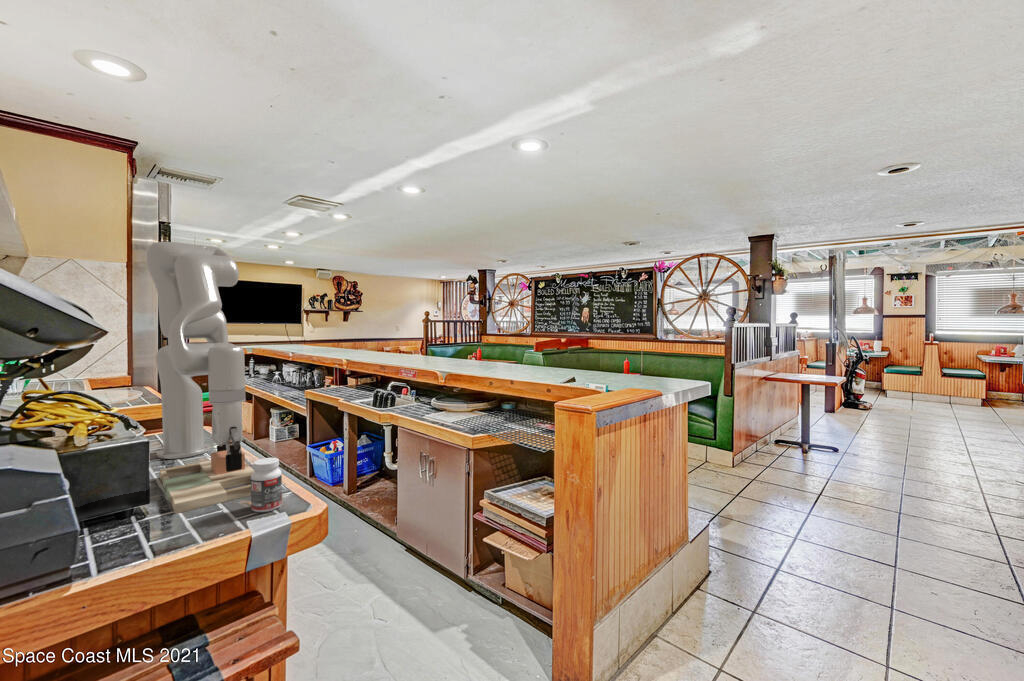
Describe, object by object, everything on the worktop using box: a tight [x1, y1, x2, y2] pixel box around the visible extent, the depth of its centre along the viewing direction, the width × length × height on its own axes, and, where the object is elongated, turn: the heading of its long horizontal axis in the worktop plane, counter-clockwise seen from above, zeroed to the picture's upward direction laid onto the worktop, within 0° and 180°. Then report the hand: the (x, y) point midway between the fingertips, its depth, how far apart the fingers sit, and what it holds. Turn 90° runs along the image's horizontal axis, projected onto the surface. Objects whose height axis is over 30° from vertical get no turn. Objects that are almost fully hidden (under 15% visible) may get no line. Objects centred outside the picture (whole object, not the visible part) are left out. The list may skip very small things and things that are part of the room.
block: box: [210, 450, 246, 475], centre depth 111 cm, size 6×6×4 cm
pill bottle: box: [250, 457, 283, 513], centre depth 94 cm, size 6×6×10 cm
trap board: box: [158, 459, 255, 514], centre depth 107 cm, size 27×17×2 cm, turn 43°
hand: (229, 465), depth 110 cm, fingers open, 9 cm apart
